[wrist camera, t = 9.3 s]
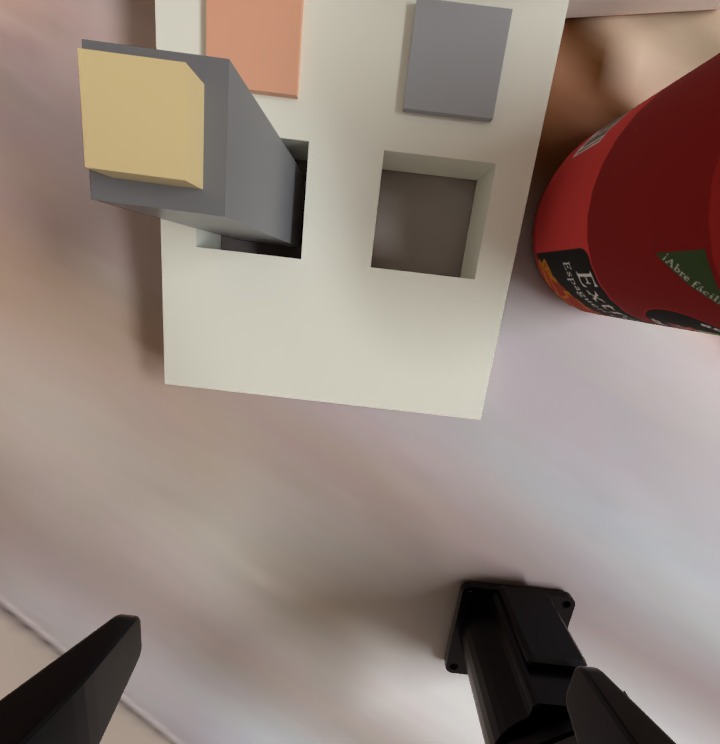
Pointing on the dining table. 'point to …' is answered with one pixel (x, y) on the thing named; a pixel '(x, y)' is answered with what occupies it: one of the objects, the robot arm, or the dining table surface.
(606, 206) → the canned food
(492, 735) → the robot arm
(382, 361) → the socket board
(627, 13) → the medicine bottle
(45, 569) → the dining table surface
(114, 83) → the plug
